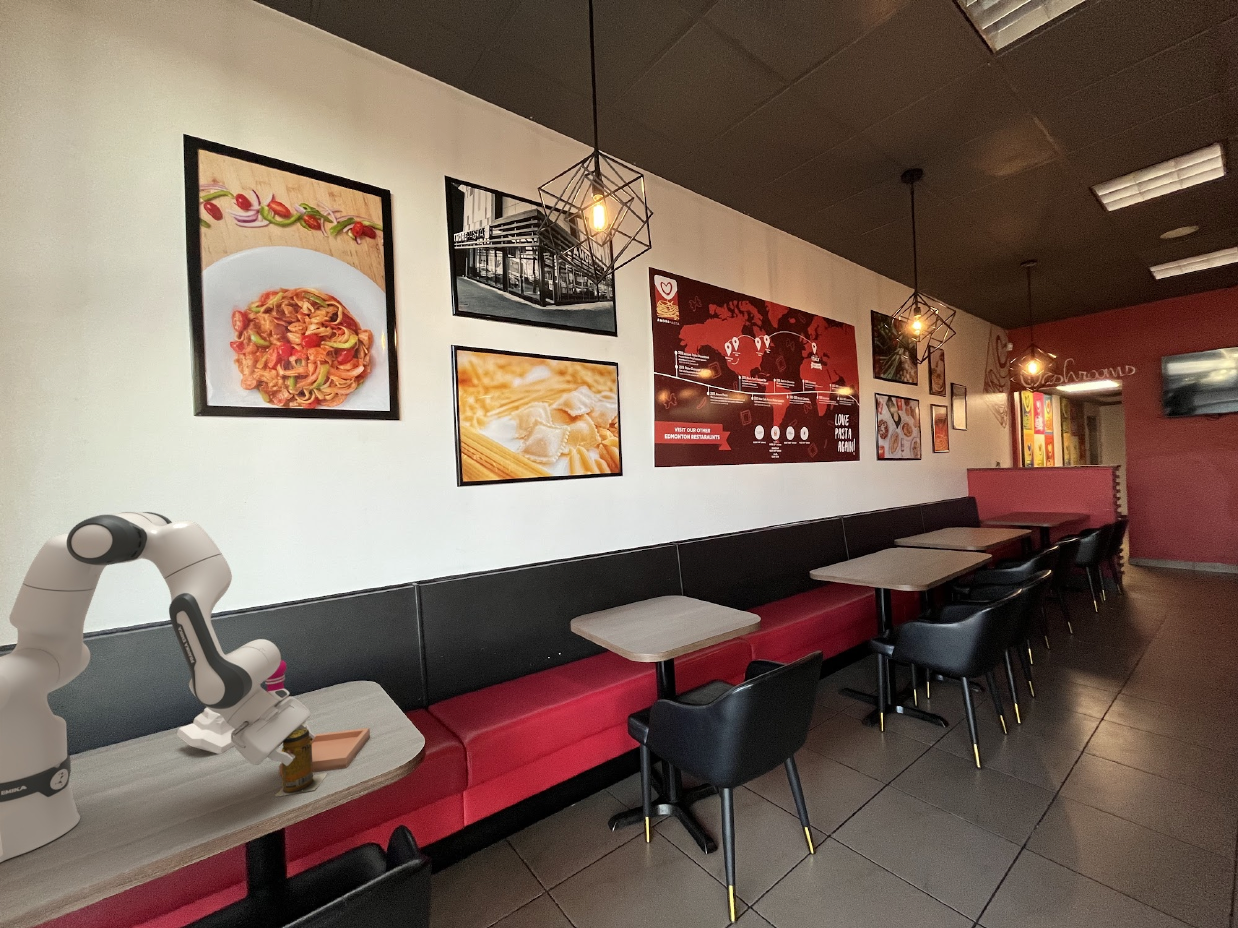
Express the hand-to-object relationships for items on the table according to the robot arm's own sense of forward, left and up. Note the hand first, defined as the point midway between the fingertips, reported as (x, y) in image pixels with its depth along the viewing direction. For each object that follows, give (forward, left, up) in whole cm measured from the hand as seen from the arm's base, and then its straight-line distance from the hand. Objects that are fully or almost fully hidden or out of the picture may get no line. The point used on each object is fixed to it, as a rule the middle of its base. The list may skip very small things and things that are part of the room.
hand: (302, 750), depth 118 cm
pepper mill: (-26, +39, -8) cm, 48 cm away
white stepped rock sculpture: (-36, +27, -8) cm, 46 cm away
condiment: (0, 0, -8) cm, 8 cm away
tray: (0, +13, -8) cm, 15 cm away
